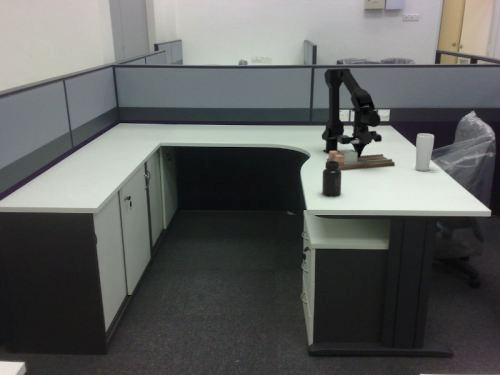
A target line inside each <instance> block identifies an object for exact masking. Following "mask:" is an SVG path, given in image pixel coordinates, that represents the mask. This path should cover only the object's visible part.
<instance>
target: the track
mask: <svg viewBox="0 0 500 375" xmlns="http://www.w3.org/2000/svg"><path fill="white" fill-rule="evenodd" d="M327 161H337V162H339V168H338V169H340V170H341V171H350V170H362V169H374V168H385V167H395V161H393V159H392V158H387V157H385V156H384V154H383V153H379V154H366V155H365V154H364V155H361V156H360V158H358V157H357V162H345V163H344V156H343V155H341V154H340V153H338V152H337V151H329V153H328V158H326V162H327Z"/></svg>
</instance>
